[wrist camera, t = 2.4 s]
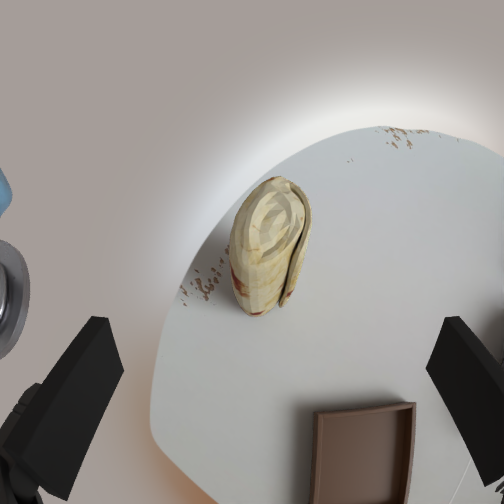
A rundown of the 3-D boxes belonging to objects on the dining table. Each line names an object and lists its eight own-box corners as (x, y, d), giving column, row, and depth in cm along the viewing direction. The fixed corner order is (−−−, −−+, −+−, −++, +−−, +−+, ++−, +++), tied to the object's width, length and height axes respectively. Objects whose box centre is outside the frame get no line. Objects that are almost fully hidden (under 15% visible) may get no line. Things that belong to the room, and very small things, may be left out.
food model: (255, 250, 43) (255, 153, 24) (301, 267, 41) (334, 179, 23) (226, 315, 39) (200, 256, 21) (274, 334, 38) (293, 293, 20)
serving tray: (307, 518, 28) (310, 526, 25) (313, 411, 34) (318, 414, 31) (398, 502, 27) (406, 508, 25) (406, 401, 34) (416, 402, 31)
